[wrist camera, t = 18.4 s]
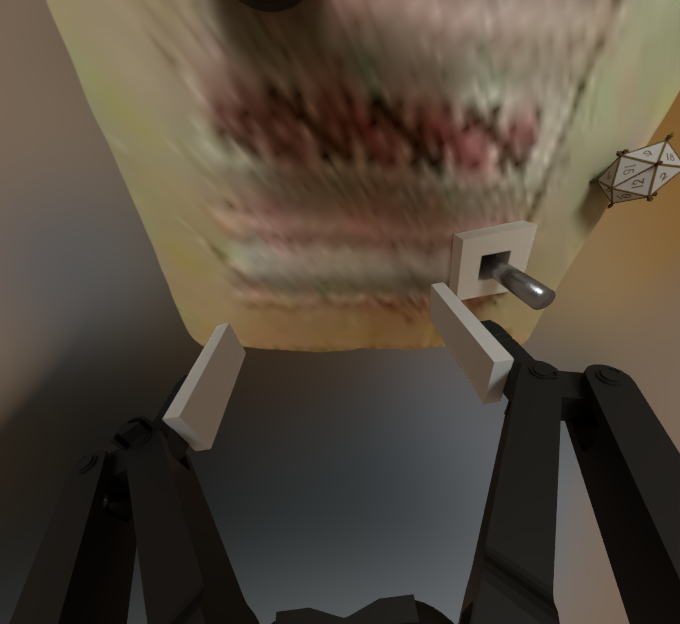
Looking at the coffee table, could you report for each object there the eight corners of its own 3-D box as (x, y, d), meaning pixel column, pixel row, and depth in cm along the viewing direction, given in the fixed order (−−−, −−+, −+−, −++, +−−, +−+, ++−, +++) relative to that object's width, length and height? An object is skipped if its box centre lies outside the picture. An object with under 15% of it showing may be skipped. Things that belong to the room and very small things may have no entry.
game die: (601, 160, 41) (706, 139, 33) (587, 213, 43) (683, 206, 35) (591, 142, 36) (714, 113, 28) (576, 204, 37) (686, 193, 30)
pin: (475, 252, 45) (534, 292, 32) (492, 248, 45) (558, 287, 32) (472, 268, 46) (527, 311, 34) (489, 264, 46) (551, 307, 34)
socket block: (453, 233, 42) (463, 240, 40) (523, 220, 42) (538, 225, 39) (448, 292, 49) (456, 301, 46) (508, 280, 49) (520, 289, 46)
